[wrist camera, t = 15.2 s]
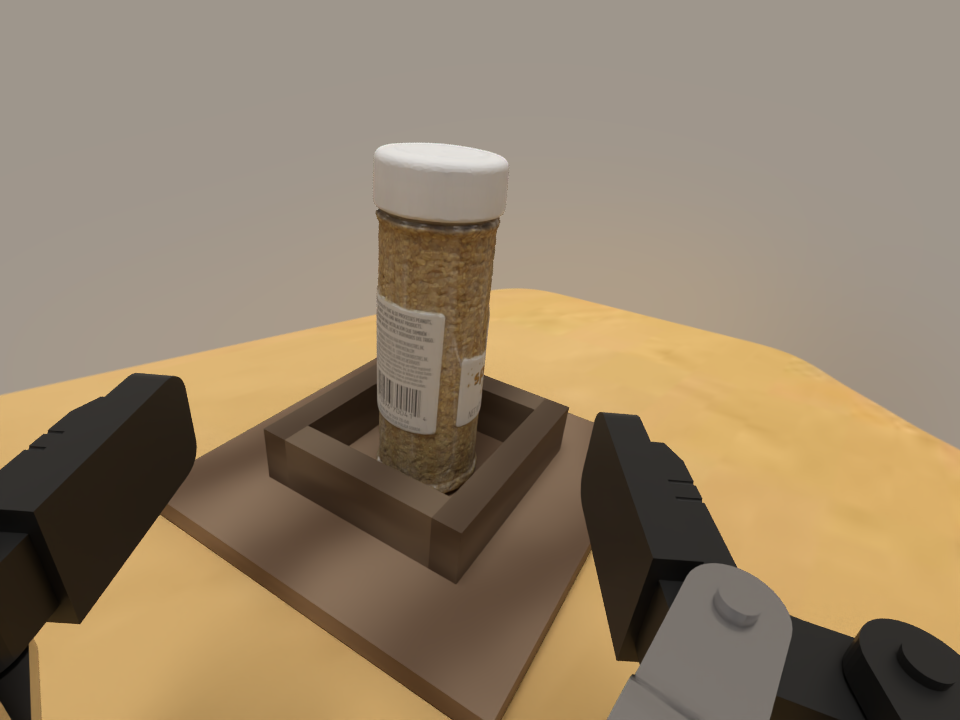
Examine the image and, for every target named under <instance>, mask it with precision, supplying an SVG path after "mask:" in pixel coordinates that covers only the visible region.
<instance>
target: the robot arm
mask: <svg viewBox="0 0 960 720" xmlns="http://www.w3.org/2000/svg"><path fill="white" fill-rule="evenodd" d="M196 449H197V446H196V438H195V433H194V428H193V423H192V418H191V413H190V408H189V403H188V398H187V393H186V388H185V385H184V383H183V381H182V379H180V378H179V377H177V376H167V375H154V374H142V373H134V374H131V375H130V376H128V377H127V378H126V379H125V380H124V381H123V382H121V383H120V384H119V385H118V386H117V387H116V388H114V389H113V390H112V391H111V392H110V393H109V394H108V395H106V396H105V397H99V398H97V399H95V400H93V401H91V402H89V403H87V404H85V405H83V406H81V407H79V408H77V409H75V410H73V411H70V412H69V413H68V414H67V415H66V416H64V417H63V418H62V419H61V420H60V421H58V422H57V423H56V424H55V425H54V426H52V427H51V428H50V429H49V430H48V433H47V434H43V435H42V436H40V437H39V438H38V439H37V440H36V441H34V442H33V443H32V444H31V445H29V450H23V451H22V452H21V453H20V454H19V455H17V456H16V457H15V458H14V459H13V460H11V461H10V462H9V463H8V464H7V465H5V466H4V467H3V468H2V469H1V470H0V720H42V715H41V695H40V674H39V654H38V647H37V644H36V642H35V640H34V637H35V636H36V634H37V633H38V632H39V630H40V629H41V628H42V627H43V625H44V624H45V623H46V622H55V623H71V624H81V622H82V621H83V619H84V618H85V617H86V615H87V614H88V613H89V611H90V610H91V608H92V607H93V606H94V604H95V603H96V602H97V600H98V599H99V597H100V596H101V595H102V593H103V592H104V591H105V589H106V588H107V586H108V585H109V584H110V582H111V581H112V580H113V578H114V577H115V575H116V574H117V573H118V571H119V570H120V569H121V567H122V566H123V564H124V563H125V562H126V560H127V559H128V558H129V556H130V555H131V553H132V552H133V551H134V549H135V548H136V547H137V545H138V544H139V542H140V541H141V540H142V538H143V537H144V535H145V534H146V533H147V531H148V530H149V529H150V527H151V526H152V524H153V523H154V522H155V520H156V519H157V518H158V516H159V515H160V513H161V512H162V511H163V509H164V508H165V507H166V505H167V504H168V502H169V501H170V500H171V498H172V497H173V496H174V494H175V493H176V491H177V490H178V489H179V487H180V486H181V485H182V483H183V482H184V480H185V479H186V478H187V476H188V475H189V473H190V471H191V470H192V467H193V465H194V461H195V457H196ZM693 482H694V481H693V479H692V477H691V475H690V473H689V472H688V470H687V468H686V466H685V464H684V462H683V460H681V459H680V458H679V457H678V456H677V455H676V454H675V453H674V452H673V451H672V450H671V449H670V448H669V447H668V446H667V445H666V444H664V443H659V442H651V441H650V439H649V437H648V434H647V432H646V430H645V428H644V426H643V423H642V421H641V419H640V417H639V416H637V415H629V414H617V413H605V412H599V413H598V414H597V416H596V418H595V421H594V425H593V430H592V434H591V438H590V442H589V446H588V450H587V455H586V459H585V463H584V467H583V471H582V477H581V503H582V508H583V513H584V517H585V522H586V526H587V531H588V535H589V540H590V544H591V549H592V553H593V557H594V562H595V566H596V571H597V575H598V580H599V584H600V589H601V593H602V598H603V602H604V606H605V611H606V615H607V620H608V624H609V629H610V633H611V638H612V642H613V647H614V651H615V655H616V660H617V661H631V662H639V663H640V666H639V668H638V670H637V672H636V673H635V675H634V674H632V675H631V677H630V678H629V680H628V681H627V683H626V685H625V687H624V688H623V690H622V692H621V694H620V696H619V698H618V700H617V701H616V703H615V705H614V707H613V709H612V711H611V713H610V715H609V716H608V718H607V720H960V655H959V654H957V653H956V652H955V651H954V650H953V649H952V648H950V647H949V646H948V645H946V644H945V643H943V642H942V641H941V640H939V639H937V638H936V637H934V636H933V635H931V634H929V633H927V632H926V631H924V630H922V629H920V628H918V627H915V626H913V625H910V624H908V623H904V622H901V621H898V620H892V619H874V620H871V621H869V622H867V623H866V624H865V625H864V626H863V627H862V628H861V630H860V631H859V633H858V634H857V636H856V637H855V638H853V637H850V636H847V635H844V634H841V633H838V632H835V631H833V630H830V629H827V628H824V627H821V626H818V625H815V624H812V623H809V622H806V621H803V620H801V619H798V618H796V617H793V616H791V615H789V613H788V611H787V609H786V607H785V605H784V604H783V602H782V601H781V600H780V598H779V597H778V596H777V595H776V594H775V593H774V591H773V590H771V589H770V588H769V587H768V586H767V585H766V584H765V583H763V582H762V581H761V580H759V579H758V578H756V577H755V576H753V575H751V574H750V573H748V572H746V571H743V570H741V569H739V568H737V566H736V564H735V562H734V560H733V558H732V556H731V554H730V552H729V550H728V548H727V546H726V544H725V542H724V540H723V538H722V536H721V535H720V533H719V531H718V529H717V527H716V525H715V523H714V521H713V519H712V517H711V515H710V513H709V511H708V509H707V507H706V505H705V503H702V497H701V495H700V493H699V491H698V489H697V487H696V486H694V485H693Z"/></svg>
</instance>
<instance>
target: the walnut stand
mask: <svg viewBox="0 0 960 720" xmlns="http://www.w3.org/2000/svg"><path fill="white" fill-rule="evenodd" d="M568 410H569V407H567V406H564V405H562V404H559V403H556V402H554V401H551V400H548V399H546V398H543V397H540V396H538V395H535V394H533V393H530V392H527V391H525V390H522V389H519V388H517V387H514V386H511V385H509V384H506V383H503V382H501V381H498V380H495V379H493V378H490V377H488V376H485V375H484V377H483V388H482V398H481V407H480V410H479V415H478V423H477V434H476V444H475V452H476V456H477V460H476V466H475V469H474V472H473V474H472V475H471V476H470V478H469V479H468V480H467V481H466V482H465V483H463V484H462V485H461V486H460V487H458V488H457V489H455V490H453V491H449V492H447V493H445V494H443V493H441V492H439V491H437V490H435V489H433V488H431V487H429V486H427V485H425V484H423V483H421V482H419V481H417V480H415V479H413V478H411V477H409V476H407V475H405V474H403V473H401V472H399V471H397V470H395V469H393V468H392V467H390V466H388V465H386V464H384V463H382V462H380V461H378V460H376V455H377V450H378V448H379V445H380V441H379V438H380V433H379V412H380V411H379V408H378V403H377V358H375V359H374V360H372V361H370V362H368V363H367V364H365V365H363V366H361V367H359V368H358V369H356V370H354V371H352V372H351V373H349V374H347V375H345V376H343V377H342V378H340V379H338V380H336V381H335V382H333V383H331V384H329V385H327V386H326V387H324V388H322V389H320V390H319V391H317V392H315V393H313V394H311V395H310V396H308V397H306V398H304V399H303V400H301V401H299V402H297V403H295V404H294V405H292V406H290V407H288V408H287V409H285V410H283V411H281V412H279V413H278V414H276V415H274V416H272V417H271V418H269V419H267V420H265V421H263V422H262V423H260V424H258V425H256V426H255V427H253V428H251V429H249V430H247V431H246V432H244V433H242V434H240V435H239V436H237V437H235V438H233V439H231V440H230V441H228V442H226V443H224V444H223V445H221V446H219V447H217V448H216V449H214V450H212V451H210V452H208V453H207V454H205V455H203V456H201V457H200V458H198V459H196V460H195V461H194V465H193V467H192V470H191V471H190V473H189V475H188V476H187V478H186V479H185V480H184V482H183V483H182V485H181V486H180V487H179V489H178V490H177V491H176V493H175V494H174V496H173V497H172V498H171V500H170V501H169V502H168V504H167V505H166V507H165V508H164V509H163V511H162V512H161V513H160V514H161V515H162V516H164V517H165V518H167V519H168V520H169V521H171V522H172V523H174V524H175V525H177V526H178V527H179V528H181V529H182V530H184V531H185V532H187V533H188V534H189V535H191V536H192V537H194V538H195V539H196V540H198V541H199V542H201V543H202V544H204V545H205V546H206V547H208V548H209V549H211V550H212V551H214V552H215V553H216V554H218V555H219V556H221V557H222V558H223V559H225V560H226V561H228V562H229V563H231V564H232V565H233V566H235V567H236V568H238V569H239V570H241V571H242V572H243V573H245V574H246V575H248V576H249V577H251V578H252V579H253V580H255V581H256V582H258V583H259V584H260V585H262V586H263V587H265V588H266V589H268V590H269V591H270V592H272V593H273V594H275V595H276V596H278V597H279V598H280V599H282V600H283V601H285V602H286V603H288V604H289V605H290V606H292V607H293V608H295V609H296V610H297V611H299V612H300V613H302V614H303V615H305V616H306V617H307V618H309V619H310V620H312V621H313V622H315V623H316V624H317V625H319V626H320V627H322V628H323V629H325V630H326V631H327V632H329V633H330V634H332V635H333V636H334V637H336V638H337V639H339V640H340V641H342V642H343V643H344V644H346V645H347V646H349V647H350V648H352V649H353V650H354V651H356V652H357V653H359V654H360V655H362V656H363V657H364V658H366V659H367V660H369V661H370V662H371V663H373V664H374V665H376V666H377V667H379V668H380V669H381V670H383V671H384V672H386V673H387V674H389V675H390V676H391V677H393V678H394V679H396V680H397V681H399V682H400V683H401V684H403V685H404V686H406V687H407V688H408V689H410V690H411V691H413V692H414V693H416V694H417V695H418V696H420V697H421V698H423V699H424V700H426V701H427V702H428V703H430V704H431V705H433V706H434V707H436V708H437V709H438V710H440V711H441V712H443V713H444V714H445V715H447V716H448V717H450V718H451V719H453V720H501V719H502V717H503V715H504V713H505V711H506V710H507V708H508V706H509V704H510V702H511V700H512V698H513V696H514V694H515V693H516V691H517V689H518V687H519V685H520V683H521V681H522V679H523V677H524V676H525V674H526V672H527V670H528V668H529V666H530V664H531V662H532V660H533V659H534V657H535V655H536V653H537V651H538V649H539V647H540V645H541V643H542V642H543V640H544V638H545V636H546V634H547V632H548V630H549V628H550V626H551V625H552V623H553V621H554V619H555V617H556V615H557V613H558V611H559V609H560V608H561V606H562V604H563V602H564V600H565V598H566V596H567V594H568V592H569V591H570V589H571V587H572V585H573V583H574V581H575V579H576V577H577V575H578V574H579V572H580V570H581V568H582V566H583V564H584V562H585V560H586V558H587V557H588V555H589V553H590V551H591V544H590V540H589V535H588V531H587V526H586V522H585V517H584V513H583V508H582V503H581V477H582V471H583V467H584V463H585V459H586V455H587V450H588V446H589V442H590V438H591V434H592V430H593V425H594V422H591V421H588V420H586V419H583V418H580V417H578V416H575V415H573V414H570V413H568Z"/></svg>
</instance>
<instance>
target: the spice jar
mask: <svg viewBox="0 0 960 720" xmlns="http://www.w3.org/2000/svg"><path fill="white" fill-rule="evenodd" d="M508 175H509V165H508V162H507V160H506V159H505V158H504V157H502V156H500V155H498V154H495V153H492V152H488V151H484V150H480V149H475V148H470V147H464V146H458V145H450V144H438V143H394V144H387V145H383V146H381V147H379V148H378V149H377V150H376V151H375V153H374V169H373V200H374V203H375V205H376V206H377V207H378V208H379V210H376V215H377V219H378V220H379V236H378V238H379V268H378V273H379V277H378V286H377V403H378V408H379V411H380V412H379V433H380V438H379V441H380V445H379V448H378V450H377V455H376V460H378V461H380V462H382V463H384V464H386V465H388V466H390V467H392V468H393V469H395V470H397V471H399V472H401V473H403V474H405V475H407V476H409V477H411V478H413V479H415V480H417V481H419V482H421V483H423V484H425V485H427V486H429V487H431V488H433V489H435V490H437V491H439V492H441V493H443V494H445V493H447V492H449V491H453V490H455V489H457V488H458V487H460V486H461V485H462V484H463V483H465V482H466V481H467V480H468V479H469V478H470V476H471V475H472V474H473V472H474V469H475V466H476V460H477V456H476V452H475V444H476V434H477V423H478V415H479V410H480V407H481V398H482V388H483V377H484V366H485V355H486V345H487V336H488V326H489V316H490V311H489V299H490V291H491V282H492V278H491V277H492V274H493V260H494V254H495V245H496V233H497V228H498V227H499V223H500V220H499V217H500V216H501V215H503V213H504V211H505V206H506V198H507V188H508Z"/></svg>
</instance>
